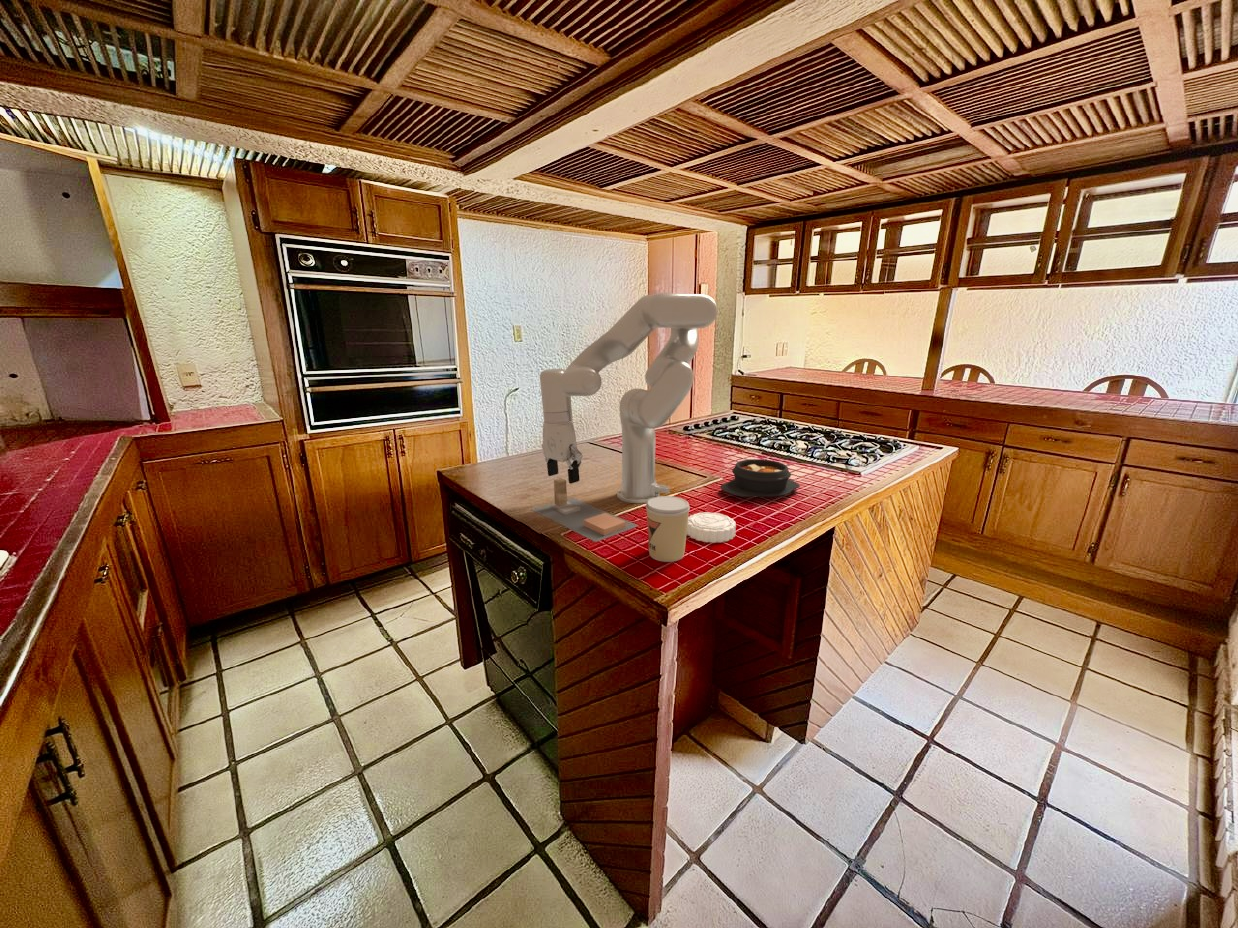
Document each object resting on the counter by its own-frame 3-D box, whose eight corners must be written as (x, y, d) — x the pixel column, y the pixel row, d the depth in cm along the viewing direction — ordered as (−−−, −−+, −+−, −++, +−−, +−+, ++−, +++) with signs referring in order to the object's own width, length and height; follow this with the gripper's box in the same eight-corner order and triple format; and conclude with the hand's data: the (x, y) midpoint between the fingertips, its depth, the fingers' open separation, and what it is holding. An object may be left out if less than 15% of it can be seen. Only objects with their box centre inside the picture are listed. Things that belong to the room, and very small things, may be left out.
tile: (583, 519, 119) (604, 529, 114) (604, 512, 124) (625, 521, 118) (583, 526, 120) (604, 536, 114) (605, 518, 124) (625, 528, 119)
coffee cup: (642, 545, 110) (643, 496, 107) (682, 543, 111) (684, 494, 107) (648, 564, 101) (649, 511, 98) (692, 562, 102) (694, 510, 98)
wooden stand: (550, 507, 132) (549, 480, 130) (565, 503, 135) (564, 477, 133) (565, 514, 127) (564, 486, 125) (580, 510, 130) (579, 482, 128)
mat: (531, 510, 131) (531, 509, 131) (572, 498, 140) (572, 497, 140) (595, 543, 111) (595, 541, 111) (638, 526, 120) (638, 525, 120)
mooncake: (711, 520, 125) (712, 507, 124) (746, 536, 115) (747, 522, 114) (675, 530, 119) (675, 516, 118) (708, 548, 109) (709, 533, 108)
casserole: (746, 508, 132) (748, 479, 130) (707, 488, 148) (708, 462, 146) (814, 495, 142) (817, 468, 140) (770, 478, 158) (772, 453, 156)
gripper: (528, 415, 130) (534, 475, 135) (565, 423, 117) (571, 489, 122) (551, 411, 135) (556, 469, 140) (589, 418, 122) (594, 481, 127)
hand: (563, 478), depth 131 cm, fingers open, 9 cm apart
